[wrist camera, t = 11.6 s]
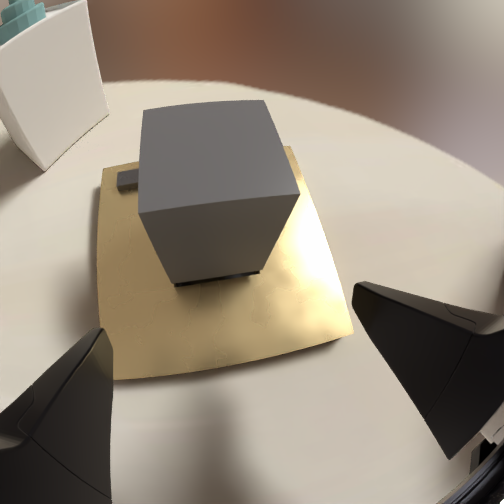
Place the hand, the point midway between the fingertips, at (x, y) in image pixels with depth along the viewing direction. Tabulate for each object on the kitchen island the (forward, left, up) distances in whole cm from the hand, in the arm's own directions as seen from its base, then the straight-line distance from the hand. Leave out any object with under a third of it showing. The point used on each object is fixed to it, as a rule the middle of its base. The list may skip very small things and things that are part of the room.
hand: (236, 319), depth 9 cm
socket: (+5, -2, -7) cm, 9 cm away
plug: (+5, -2, -7) cm, 8 cm away
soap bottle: (+25, +5, -7) cm, 26 cm away
